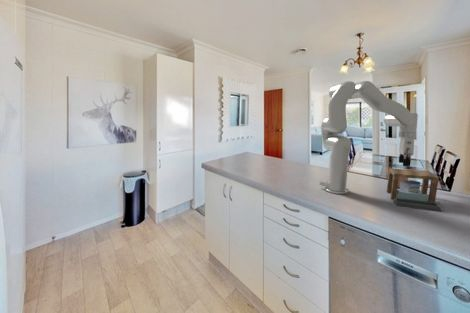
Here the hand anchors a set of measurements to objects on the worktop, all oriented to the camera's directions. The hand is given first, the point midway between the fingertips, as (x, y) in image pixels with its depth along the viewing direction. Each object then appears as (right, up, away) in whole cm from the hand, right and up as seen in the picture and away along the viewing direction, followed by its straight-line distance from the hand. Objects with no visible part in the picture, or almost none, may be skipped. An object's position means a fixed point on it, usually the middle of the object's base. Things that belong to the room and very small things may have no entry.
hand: (404, 164), depth 125 cm
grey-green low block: (-5, -16, -8) cm, 18 cm away
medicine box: (-8, -17, -13) cm, 23 cm away
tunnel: (-8, -17, -13) cm, 23 cm away
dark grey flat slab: (-13, -19, -24) cm, 33 cm away
